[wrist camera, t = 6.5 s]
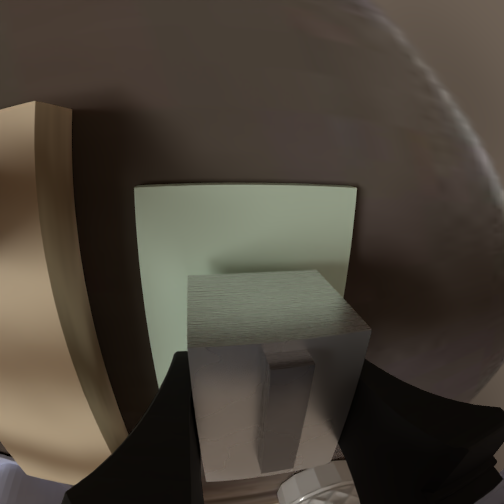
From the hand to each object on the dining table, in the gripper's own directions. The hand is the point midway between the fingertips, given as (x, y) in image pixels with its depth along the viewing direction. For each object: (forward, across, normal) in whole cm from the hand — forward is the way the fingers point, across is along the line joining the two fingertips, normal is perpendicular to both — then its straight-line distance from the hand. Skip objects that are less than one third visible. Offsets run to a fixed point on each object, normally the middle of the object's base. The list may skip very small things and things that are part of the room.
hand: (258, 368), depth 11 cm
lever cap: (+1, 0, 0) cm, 1 cm away
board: (+3, 0, 0) cm, 3 cm away
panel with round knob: (+3, +10, 0) cm, 10 cm away
